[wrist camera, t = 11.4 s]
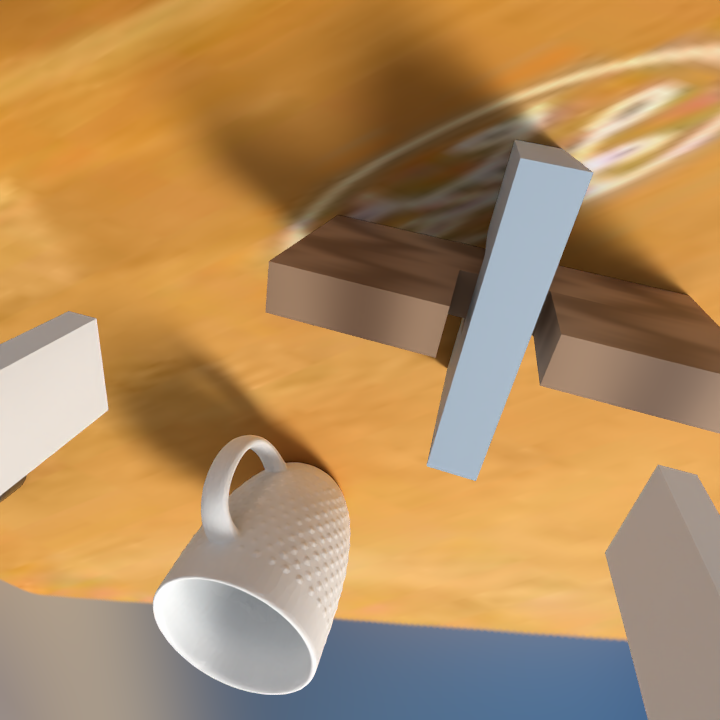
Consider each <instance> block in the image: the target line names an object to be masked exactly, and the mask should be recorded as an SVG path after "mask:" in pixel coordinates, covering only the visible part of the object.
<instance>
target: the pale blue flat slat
mask: <svg viewBox="0 0 720 720" xmlns="http://www.w3.org/2000/svg"><path fill="white" fill-rule="evenodd" d="M592 175H593V172H592V171H591V170H589V169H588V168H587V167H585V166H584V165H583V164H581V163H580V162H579V161H578V160H576V159H575V158H574V157H572V156H571V155H570V154H568V153H567V152H566V151H564V150H563V149H561V148H556V147H551V146H546V145H541V144H535V143H530V142H525V141H520V140H514V144H513V147H512V150H511V154H510V157H509V161H508V164H507V168H506V171H505V174H504V178H503V181H502V185H501V188H500V191H499V195H498V198H497V202H496V205H495V208H494V212H493V215H492V219H491V222H490V225H489V229H488V233H487V241H486V249H485V256H484V259H483V263H482V266H481V269H480V273H479V276H478V279H477V283H476V286H475V290H474V293H473V296H472V300H471V303H470V306H469V310H468V313H467V316H466V319H465V318H462V321H461V324H460V328H459V331H458V334H457V338H456V341H455V345H454V348H453V351H452V355H451V358H450V362H449V365H448V368H447V373H446V378H445V382H444V387H443V392H442V396H441V401H440V406H439V410H438V415H437V420H436V425H435V429H434V434H433V439H432V443H431V448H430V453H429V457H428V462H427V466H428V467H431V468H435V469H438V470H441V471H445V472H448V473H451V474H455V475H458V476H461V477H464V478H468V479H471V480H474V481H476V479H477V477H478V474H479V471H480V469H481V466H482V464H483V461H484V458H485V456H486V453H487V451H488V448H489V445H490V443H491V440H492V437H493V435H494V432H495V430H496V427H497V424H498V422H499V419H500V416H501V414H502V411H503V409H504V406H505V403H506V401H507V398H508V395H509V393H510V390H511V388H512V385H513V382H514V380H515V377H516V374H517V372H518V369H519V367H520V364H521V361H522V359H523V356H524V353H525V351H526V348H527V346H528V343H529V340H530V338H531V335H532V332H533V330H534V327H535V325H536V322H537V319H538V317H539V314H540V311H541V309H542V306H543V304H544V301H545V298H546V296H547V293H548V290H549V288H550V285H551V283H552V280H553V277H554V275H555V272H556V269H557V267H558V264H559V262H560V259H561V256H562V254H563V251H564V248H565V246H566V243H567V241H568V238H569V235H570V233H571V230H572V227H573V225H574V222H575V220H576V217H577V214H578V212H579V209H580V206H581V204H582V201H583V199H584V196H585V193H586V191H587V188H588V185H589V183H590V180H591V178H592Z"/></svg>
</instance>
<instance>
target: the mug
mask: <svg viewBox="0 0 720 720" xmlns="http://www.w3.org/2000/svg"><path fill="white" fill-rule="evenodd" d="M249 449H252V450H253V451H254V452H255V453H256V454H257V455H258V456H259V458H260V460H261V461H262V463H263V466H264V468H265V470H263V471H261V472H260V473H258V474H256V475H254V476H253V477H251V478H250V479H249V480H247V481H246V482H244V483H243V484H242V485H241V486H240V487H238V488H237V489H236V490H234V491H233V492H232V493H231V495H230V496H229V489H230V484H231V481H232V477H233V474H234V472H235V469H236V467H237V465H238V463H239V461H240V459H241V457H242V456H243V455H244V453H245V452H246V451H247V450H249ZM201 516H202V526H201V528H200V529H199V530H198V531H197V533H196V534H195V535H194V536H193V538H192V539H191V541H190V542H189V544H188V545H187V546H186V548H185V549H184V550H183V551H182V553H181V555H180V557H179V558H178V559H177V561H176V562H175V563H174V565H173V567H172V568H171V570H170V571H169V573H168V574H167V576H166V577H165V579H164V580H163V582H162V583H161V585H160V586H159V588H158V589H157V591H156V593H155V596H154V599H153V611H154V617H155V620H156V622H157V625H158V627H159V629H160V630H161V632H162V633H163V635H164V636H165V638H166V639H167V641H168V642H169V643H170V644H171V645H172V646H173V647H174V649H175V650H176V651H177V652H178V653H179V654H180V655H182V656H183V657H184V658H185V659H186V660H187V661H188V662H190V663H191V664H192V665H193V666H195V667H196V668H198V669H199V670H201V671H202V672H204V673H205V674H207V675H209V676H210V677H212V678H214V679H216V680H218V681H220V682H222V683H225V684H227V685H229V686H232V687H235V688H238V689H241V690H245V691H248V692H253V693H260V694H269V695H270V694H271V695H272V694H273V695H274V694H275V695H276V694H287V693H291V692H295V691H297V690H300V689H302V688H303V687H304V686H306V685H307V684H308V683H309V682H310V681H311V679H312V678H313V676H314V674H315V672H316V669H317V666H318V663H319V660H320V657H321V654H322V651H323V648H324V645H325V643H326V640H327V635H328V634H329V631H330V629H331V625H332V622H333V617H334V615H335V612H336V610H337V607H338V600H339V598H340V596H341V592H342V587H343V581H344V579H345V575H346V567H347V563H348V552H349V548H350V519H349V512H348V509H347V505H346V501H345V498H344V496H343V493H342V491H341V489H340V488H339V486H338V485H337V483H336V482H335V481H334V480H333V479H332V478H331V477H330V476H329V475H328V474H327V473H325V472H324V471H322V470H321V469H319V468H317V467H315V466H312V465H309V464H305V463H299V462H289V463H285V462H284V460H283V459H282V457H281V455H280V454H279V452H278V451H277V449H276V448H275V447H274V446H273V445H272V444H271V443H270V442H269V441H268V440H266V439H265V438H263V437H260V436H256V435H244V436H240V437H237V438H235V439H233V440H231V441H230V442H228V443H227V444H226V445H225V446H224V447H223V448H222V449H221V450H220V451H219V453H218V454H217V456H216V457H215V459H214V461H213V463H212V465H211V467H210V469H209V471H208V474H207V477H206V480H205V483H204V487H203V493H202V501H201Z"/></svg>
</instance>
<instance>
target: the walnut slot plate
mask: <svg viewBox="0 0 720 720" xmlns="http://www.w3.org/2000/svg"><path fill="white" fill-rule="evenodd" d="M484 256H485V249H484V248H480V247H476V246H471V245H467V244H463V243H458V242H454V241H450V240H445V239H441V238H436V237H432V236H428V235H423V234H419V233H415V232H410V231H406V230H402V229H397V228H393V227H389V226H384V225H380V224H376V223H371V222H367V221H362V220H358V219H354V218H349V217H345V216H341V215H337V216H336V217H334V218H333V219H331V220H330V221H328V222H327V223H325V224H324V225H322V226H321V227H319V228H318V229H316V230H315V231H313V232H312V233H310V234H309V235H307V236H306V237H305V238H303V239H302V240H300V241H299V242H297V243H296V244H294V245H293V246H291V247H290V248H288V249H287V250H285V251H284V252H282V253H281V254H279V255H278V256H276V257H275V258H273V259H272V260H270V261H269V269H268V285H267V300H266V313H270V314H274V315H277V316H281V317H285V318H289V319H292V320H296V321H300V322H304V323H307V324H311V325H315V326H319V327H322V328H326V329H330V330H334V331H337V332H341V333H345V334H349V335H352V336H356V337H360V338H364V339H367V340H371V341H375V342H379V343H382V344H386V345H390V346H394V347H397V348H401V349H405V350H409V351H412V352H416V353H420V354H424V355H427V356H431V357H435V358H436V354H437V351H438V347H439V344H440V340H441V336H442V333H443V329H444V325H445V322H446V318H447V315H448V314H449V315H453V316H457V317H461V318H465V319H466V316H467V313H468V310H469V306H470V303H471V300H472V296H473V293H474V290H475V286H476V283H477V279H478V276H479V273H480V269H481V266H482V263H483V259H484ZM532 335H533V336H534V343H535V350H536V358H537V366H538V374H539V381H540V386H544V387H547V388H551V389H555V390H559V391H562V392H566V393H570V394H574V395H577V396H581V397H585V398H589V399H592V400H596V401H600V402H604V403H607V404H611V405H615V406H619V407H622V408H626V409H630V410H634V411H637V412H641V413H645V414H649V415H652V416H656V417H660V418H664V419H667V420H671V421H675V422H679V423H682V424H686V425H690V426H694V427H697V428H701V429H705V430H709V431H712V432H716V433H720V327H719V326H718V325H717V324H716V323H715V322H714V321H713V320H712V319H711V318H710V317H709V316H708V315H707V314H706V313H705V312H704V310H703V309H702V308H701V307H700V306H699V305H698V304H697V303H696V302H695V301H694V300H693V299H692V298H691V297H690V296H689V295H685V294H680V293H676V292H672V291H667V290H663V289H659V288H654V287H650V286H646V285H641V284H637V283H632V282H628V281H624V280H619V279H615V278H611V277H606V276H602V275H598V274H593V273H589V272H585V271H580V270H576V269H571V268H567V267H563V266H558V267H557V269H556V272H555V275H554V277H553V280H552V283H551V285H550V288H549V290H548V293H547V296H546V298H545V301H544V304H543V306H542V309H541V311H540V314H539V317H538V319H537V322H536V325H535V327H534V330H533V332H532Z"/></svg>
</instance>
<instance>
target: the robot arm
mask: <svg viewBox="0 0 720 720" xmlns="http://www.w3.org/2000/svg"><path fill="white" fill-rule="evenodd" d="M106 411H108V403H107V395H106V387H105V380H104V372H103V364H102V357H101V349H100V342H99V334H98V326H97V319H96V318H93V317H89V316H85V315H81V314H77V313H73V312H70V311H68V312H66V313H64V314H62V315H60V316H58V317H56V318H54V319H52V320H50V321H48V322H46V323H44V324H41V325H39V326H37V327H35V328H33V329H31V330H29V331H27V332H25V333H23V334H21V335H19V336H17V337H15V338H13V339H11V340H8V341H6V342H4V343H2V344H0V502H2V501H3V500H4V499H6V498H7V497H8V496H10V495H11V494H12V493H13V492H15V491H16V490H17V489H18V488H20V487H21V486H22V484H23V483H24V481H25V479H26V475H27V474H28V473H30V472H31V471H32V470H33V469H35V468H36V467H37V466H38V465H40V464H41V463H42V462H43V461H45V460H46V459H47V458H48V457H50V456H51V455H52V454H53V453H55V452H56V451H57V450H59V449H60V448H61V447H62V446H64V445H65V444H66V443H67V442H69V441H70V440H71V439H72V438H74V437H75V436H76V435H77V434H79V433H80V432H81V431H82V430H84V429H85V428H86V427H88V426H89V425H90V424H91V423H93V422H94V421H95V420H96V419H98V418H99V417H100V416H101V415H103V414H104V413H105V412H106ZM605 554H606V558H607V562H608V566H609V570H610V574H611V578H612V581H613V585H614V589H615V593H616V597H617V601H618V605H619V609H620V612H621V616H622V620H623V624H624V628H625V632H626V636H627V640H628V644H629V647H630V651H631V655H632V659H633V663H634V666H635V671H636V675H637V678H638V682H639V686H640V690H641V694H642V698H643V702H644V706H645V709H646V713H647V717H648V720H720V515H719V513H718V512H717V510H716V508H715V506H714V505H713V503H712V501H711V499H710V497H709V496H708V494H707V492H706V490H705V489H704V487H703V485H702V483H701V481H700V480H699V478H698V476H697V475H695V474H692V473H688V472H684V471H680V470H676V469H672V468H669V467H665V466H661V465H658V466H657V467H656V469H655V471H654V472H653V474H652V476H651V477H650V479H649V481H648V482H647V484H646V486H645V487H644V489H643V491H642V492H641V494H640V496H639V497H638V499H637V501H636V502H635V504H634V505H633V507H632V509H631V510H630V512H629V514H628V515H627V517H626V519H625V520H624V522H623V524H622V525H621V527H620V529H619V530H618V532H617V534H616V535H615V537H614V539H613V540H612V542H611V544H610V545H609V547H608V549H607V550H606V552H605Z"/></svg>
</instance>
